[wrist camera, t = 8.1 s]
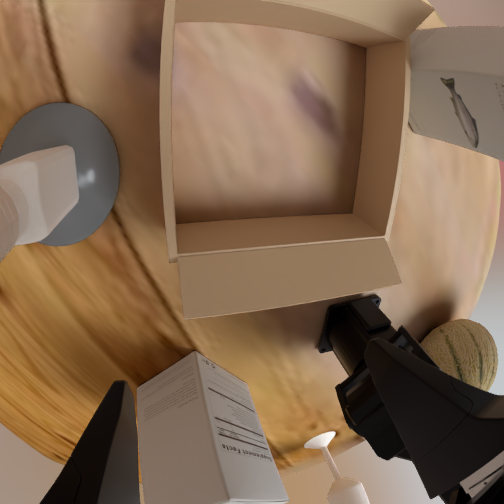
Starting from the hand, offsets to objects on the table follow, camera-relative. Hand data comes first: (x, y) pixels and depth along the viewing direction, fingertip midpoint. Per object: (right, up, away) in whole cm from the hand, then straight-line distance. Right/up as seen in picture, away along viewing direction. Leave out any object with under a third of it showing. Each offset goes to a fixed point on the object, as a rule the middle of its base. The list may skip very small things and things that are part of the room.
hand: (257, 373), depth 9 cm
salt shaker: (-13, +9, +6) cm, 17 cm away
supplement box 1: (-7, -10, +19) cm, 22 cm away
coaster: (-14, +9, +6) cm, 17 cm away
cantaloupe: (+28, -10, +29) cm, 41 cm away
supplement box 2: (+14, +19, +9) cm, 25 cm away
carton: (+2, +13, +9) cm, 16 cm away
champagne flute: (+13, -32, +36) cm, 50 cm away
